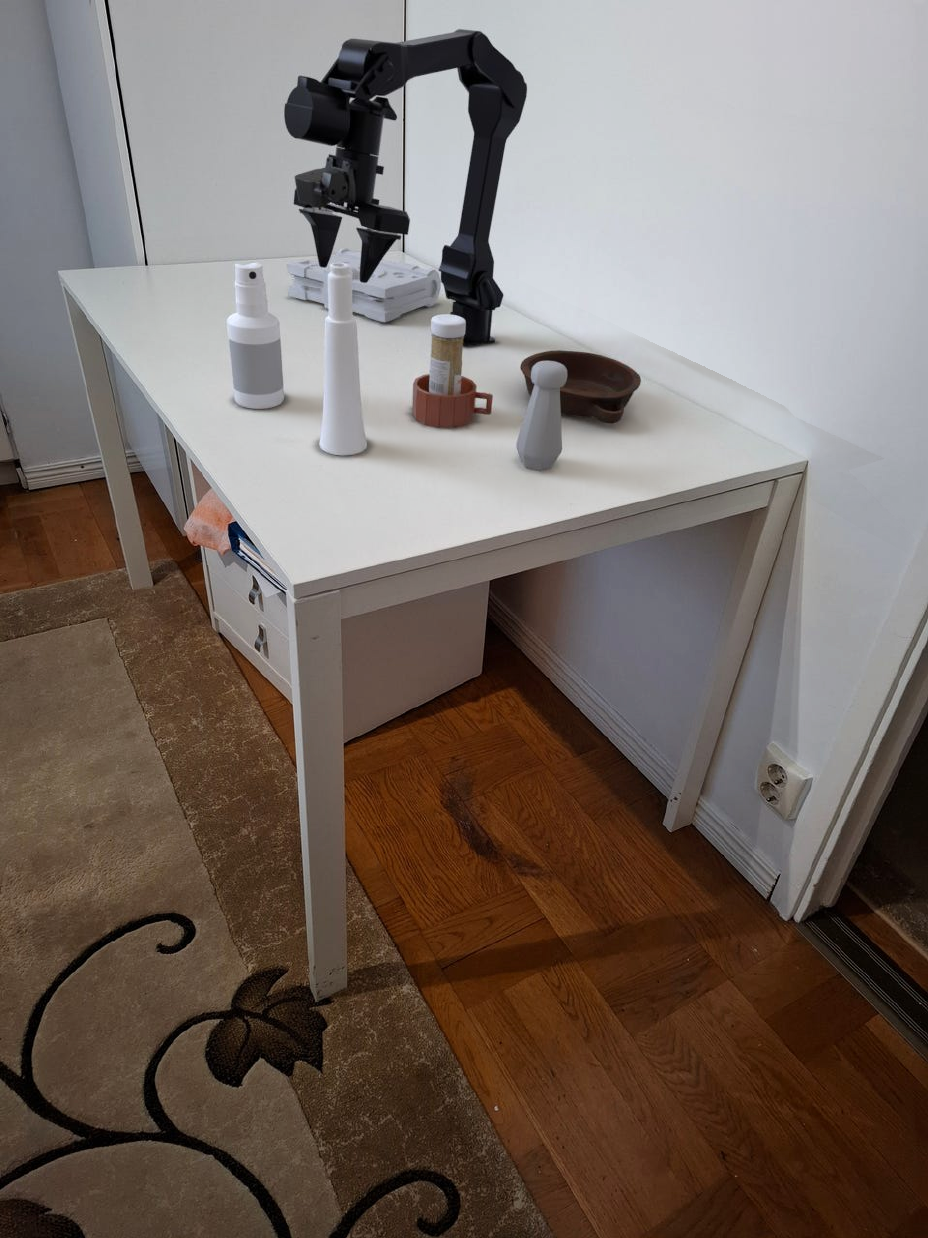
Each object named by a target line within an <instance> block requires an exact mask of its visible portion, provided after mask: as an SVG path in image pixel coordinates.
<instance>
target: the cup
mask: <svg viewBox="0 0 928 1238" xmlns="http://www.w3.org/2000/svg"><path fill="white" fill-rule="evenodd" d="M429 381H430V373H427V374H422V375H420V376H418V377H415V378H414V381H413V383H412V408H411V415H412V417H413V418H414V420H415V421H417V422H418V423H421V424H423V425H425V426H429V427H434V428H437V429H456V428H461V427H465V426H467V425H469V424H471V423H473V422H474V418H475V414H479V415H486V416H487V415H491V414H492V409H493V398H494V395H493V394H492V393H489V392H480V391H477V384H476V383H475V381H473V379H470V378H468V377H466V376H463V375H461V392H460V395H438V394H433V393H429ZM477 399H480V400H481V399H482V400H486V403H485V407H478V406H477V407H476V400H477Z"/></svg>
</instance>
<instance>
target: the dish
mask: <svg viewBox="0 0 928 1238" xmlns="http://www.w3.org/2000/svg"><path fill="white" fill-rule="evenodd" d="M540 361H555V362H558V363H561V364H562V365H564V366H565V368H566V369H567V380H566V383H565V384H564V386H563V387H560V410H561V415H562V414H563V415H567V416H572V417H580V418H593V419H595V420H598V421H599V422H602V423H606V424H616V423H619V422H620V421H621V419H622V417H623V415H624V412H625V408H626V407H627V405H628V403H630V401H631V399H632V396H633V395H634V393H635V392H636V391H637V390H638V389H639V387H640V386H641V384H642V378H641V376H640V375H639V373H638V372H637V371H636V370H635V369H634V368H632V367H630V365H627V364H625V363H623V362H621V361H618V360H617V359H614V358H612V357H608V356H605V355H602V354H598V353H592V352H586V351H577V350H576V351H575V350H563V349H562V350H561V349H557V350H556V349H555V350H547V351H541V352H537V353H534V354H531V355H529V356H527V357H526V358H524V359H523V360H522V361H521V363H520V366H519V367H520V371H521V373H522V375H523V376H524V381H525V385H526V389H527V391H528V395H529V397H530V398H531V394H532V391H533V388H534V385H535V384H534V383H533V382H532V380H531V371H532V367H533V366H534V365H535V364H536V363H537V362H540Z"/></svg>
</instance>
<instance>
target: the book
mask: <svg viewBox="0 0 928 1238" xmlns="http://www.w3.org/2000/svg"><path fill="white" fill-rule="evenodd" d="M360 261H361V251H356V252H355V251H352V250H351V249H349V248H347V247H342V248H339V249H338V250H337V251H335V253H332V254H331V257H330V260H329V262H328V265H327V267H326V268H323V267H320V266H319V262H318V257H316V258H311V259H300V260H294V261H290V262H288V263H286V273H287V274H289V275H291V276H292V277H291V281H293V284H291V285H288V286H287V290H288V295H287V296H289V297H291V298H294V299H300V300H303V301H307V300H308V301H313V302H318V303H321V304H323V305H324V308H325V309H328V274H329V273H330V272H331V270H330V264H332V263H345V264H348V265H349V266H350V270H349V273H350V274H351V275H352V307H353V313H356V314H359V315H362V316H363V315H364V317H365V318H368V319H372V320H373V321H377V322H382V323H387V322H390V321H393V320H395V319H397V318H400V317H401V315H403V314H406V313H408V312H411V311H414V310H416V309H419V308H422V307H427V308H431V307H434V306H435V304H436V303H437V301H438V300H439V296H440V292H441V287H442V285H441V284H442V283H441V275H440V273H439V271H437V270H436V269H434V268H431V267H430V268H428V269H426V268H422V267H419V266H418V265H417V264H412V263H408V262H403V261H399V262H396V261H392V260H388V259H385V258H382V260H381V261H380V263H379V265H378V266H377V268H376V269H375V271H374V272H373V274H372V276H371V277H370V279H369V280H368V282H367V283H362V282H360Z"/></svg>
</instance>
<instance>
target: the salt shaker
mask: <svg viewBox="0 0 928 1238" xmlns="http://www.w3.org/2000/svg"><path fill="white" fill-rule="evenodd" d="M531 380H532V382H533V383H534V384H535V385H534V388H533V391H532V394H531V397H530V398H529V401H528V403H527V404H528V405H527V407H526V410H525V413H524V417H523V420H522V423H521V426H520V430H519V433H518V436H517V439H516V443H515V445H516V450H517V454H518V457H519V460H520V463H521V464H522V465H523V466H524V468H525V469H528V470H533V471H538V472H542V471H547V470H552V468H553V466H554V465H555V463H556V461H557V460H558V459H559V457H560V455H561V454H562V451H563V436H562V435H563V434H562V432H563V431H562V413H561V410H560V387H563V386H564V384H565V383H566V380H567V369H566V368H565V366H564V365H562V364H561V363H558V362H555V361H540V362H537V363H536V364H535V365H534V366H533V367H532V371H531Z"/></svg>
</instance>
